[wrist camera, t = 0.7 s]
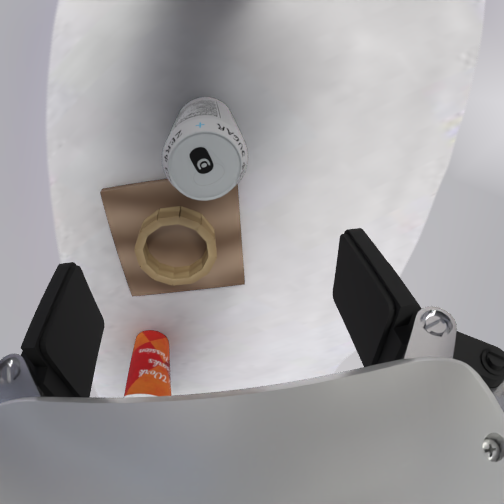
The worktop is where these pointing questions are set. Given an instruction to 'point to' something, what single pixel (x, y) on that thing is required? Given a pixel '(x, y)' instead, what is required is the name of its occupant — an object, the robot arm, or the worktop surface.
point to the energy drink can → (204, 150)
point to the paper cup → (149, 366)
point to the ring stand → (174, 238)
